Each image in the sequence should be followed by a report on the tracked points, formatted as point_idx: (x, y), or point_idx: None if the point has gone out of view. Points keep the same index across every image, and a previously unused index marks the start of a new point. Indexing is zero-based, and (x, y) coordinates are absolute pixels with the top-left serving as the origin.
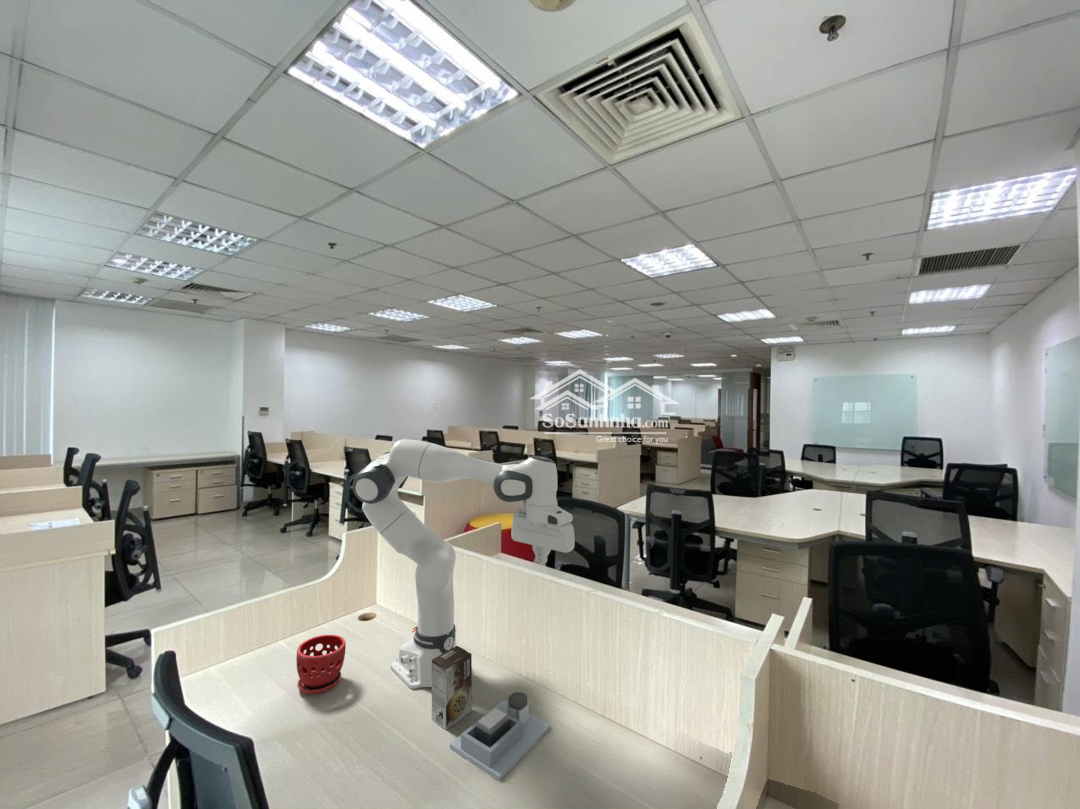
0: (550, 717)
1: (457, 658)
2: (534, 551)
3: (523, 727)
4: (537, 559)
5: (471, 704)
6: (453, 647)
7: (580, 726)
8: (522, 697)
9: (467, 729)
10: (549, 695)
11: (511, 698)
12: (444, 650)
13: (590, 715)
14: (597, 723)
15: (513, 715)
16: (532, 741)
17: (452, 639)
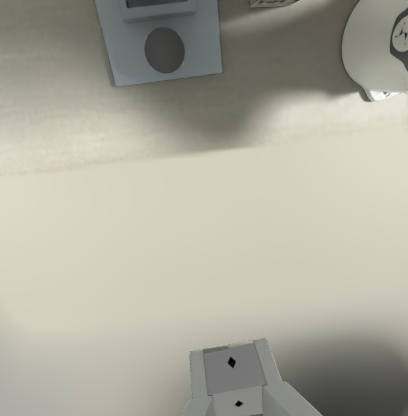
0: (137, 107)
1: None
2: (307, 413)
3: (141, 43)
4: (252, 351)
5: (253, 2)
6: (390, 59)
7: (89, 127)
8: (159, 60)
9: None
10: (178, 147)
11: (173, 39)
12: (400, 18)
13: (98, 158)
14: (77, 151)
15: None
16: (103, 27)
17: (406, 47)
